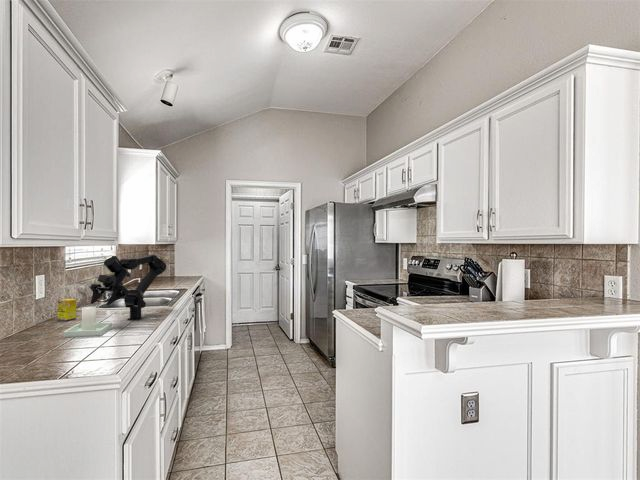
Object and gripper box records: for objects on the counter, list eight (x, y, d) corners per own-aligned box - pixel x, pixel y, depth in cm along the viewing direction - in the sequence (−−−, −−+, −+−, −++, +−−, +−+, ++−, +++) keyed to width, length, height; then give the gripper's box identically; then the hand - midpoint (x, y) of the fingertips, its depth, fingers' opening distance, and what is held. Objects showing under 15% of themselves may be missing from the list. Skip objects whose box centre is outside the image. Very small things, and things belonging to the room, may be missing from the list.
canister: (80, 330, 167) (80, 307, 167) (94, 329, 171) (94, 306, 171) (82, 333, 163) (82, 309, 163) (96, 331, 167) (97, 307, 167)
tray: (77, 329, 173) (77, 323, 173) (112, 327, 176) (112, 322, 176) (62, 337, 158) (63, 331, 158) (100, 336, 161) (100, 330, 161)
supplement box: (57, 320, 189) (57, 299, 189) (68, 318, 194) (68, 298, 194) (65, 321, 187) (65, 300, 187) (76, 319, 193) (76, 298, 193)
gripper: (92, 267, 180) (72, 293, 169) (124, 269, 175) (106, 295, 165) (105, 281, 188) (87, 306, 177) (136, 283, 183) (119, 308, 173)
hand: (99, 304), depth 173 cm, fingers open, 9 cm apart
